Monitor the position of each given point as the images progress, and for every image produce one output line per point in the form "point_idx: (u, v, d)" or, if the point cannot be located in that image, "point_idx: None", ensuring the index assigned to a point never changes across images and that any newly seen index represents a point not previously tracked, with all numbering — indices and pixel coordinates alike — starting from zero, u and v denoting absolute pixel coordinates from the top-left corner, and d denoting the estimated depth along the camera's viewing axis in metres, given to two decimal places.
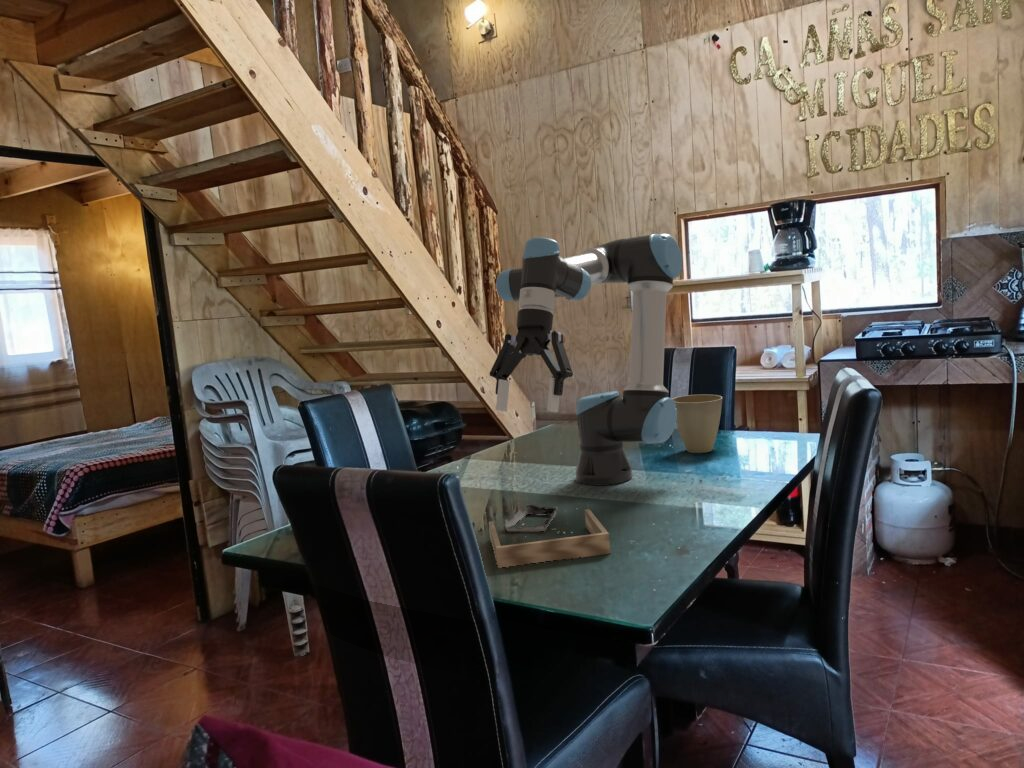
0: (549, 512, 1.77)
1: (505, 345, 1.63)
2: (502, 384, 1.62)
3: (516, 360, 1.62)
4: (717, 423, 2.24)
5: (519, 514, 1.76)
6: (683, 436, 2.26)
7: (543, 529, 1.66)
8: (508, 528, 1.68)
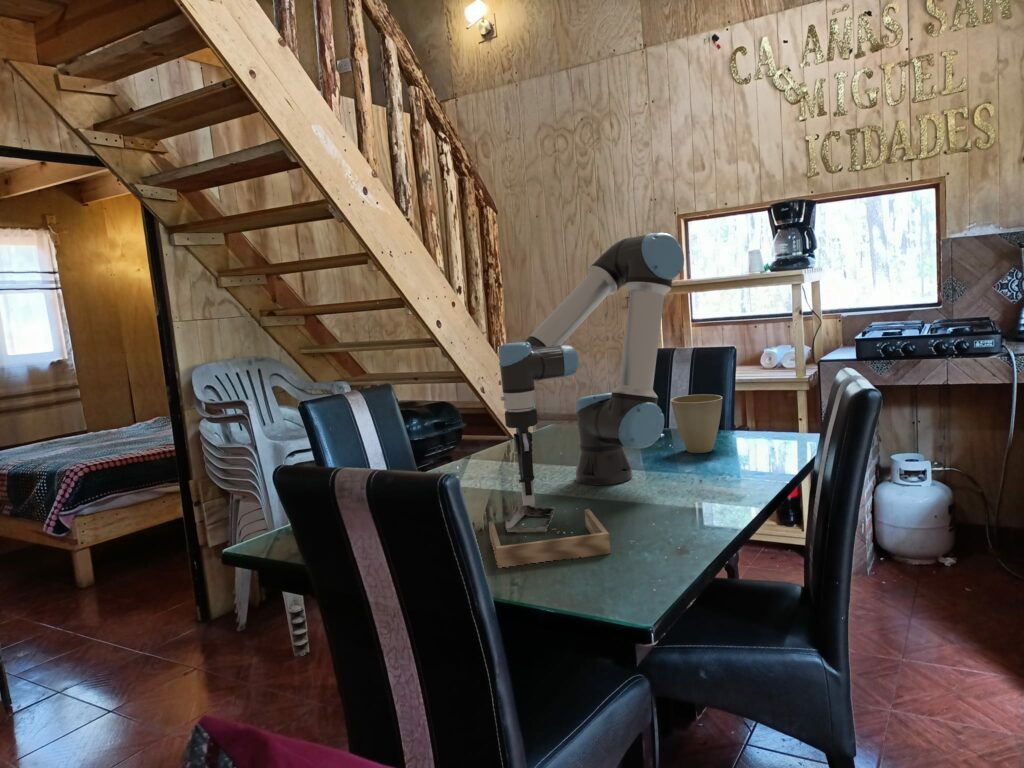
0: (546, 512, 1.77)
1: None
2: None
3: None
4: (717, 423, 2.24)
5: (517, 515, 1.75)
6: (683, 436, 2.26)
7: (544, 529, 1.65)
8: (508, 529, 1.67)
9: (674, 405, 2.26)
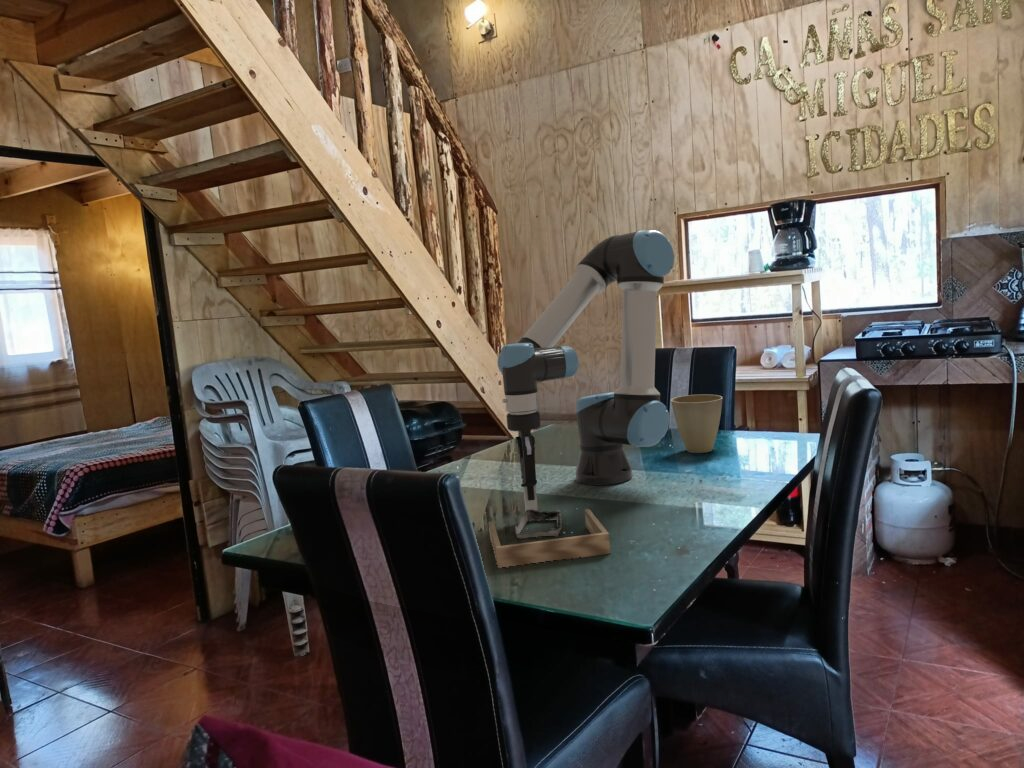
0: (551, 516, 1.73)
1: None
2: None
3: None
4: (717, 423, 2.24)
5: (523, 520, 1.70)
6: (683, 436, 2.26)
7: (556, 533, 1.61)
8: (519, 534, 1.62)
9: (674, 405, 2.26)
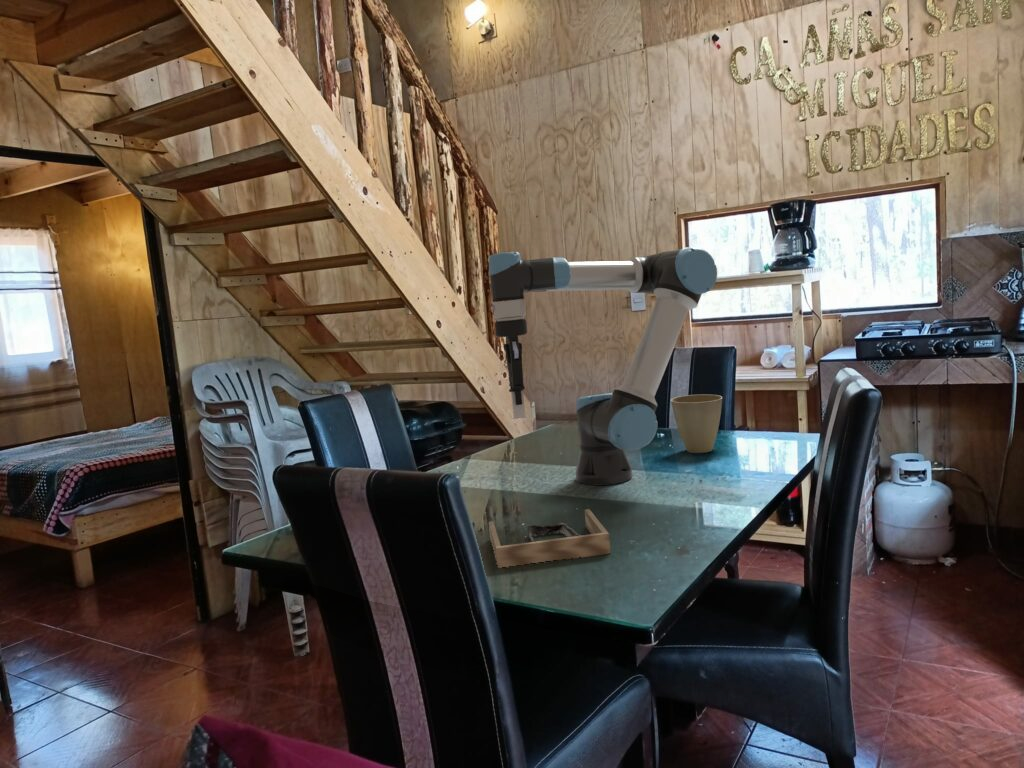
0: (554, 530, 1.64)
1: None
2: None
3: None
4: (717, 423, 2.24)
5: (530, 536, 1.59)
6: (683, 436, 2.26)
7: None
8: None
9: (673, 405, 2.26)
